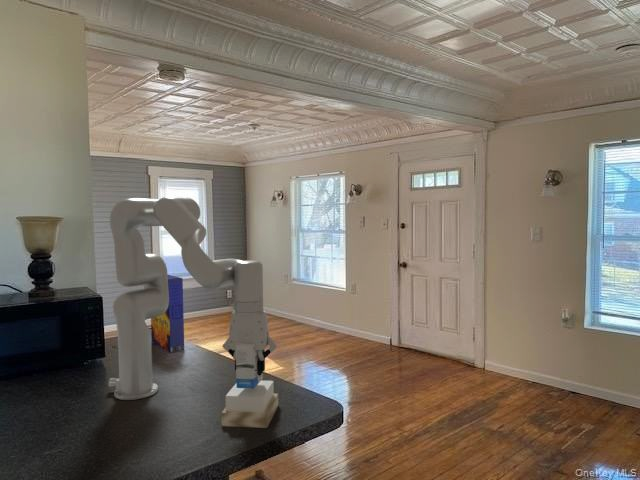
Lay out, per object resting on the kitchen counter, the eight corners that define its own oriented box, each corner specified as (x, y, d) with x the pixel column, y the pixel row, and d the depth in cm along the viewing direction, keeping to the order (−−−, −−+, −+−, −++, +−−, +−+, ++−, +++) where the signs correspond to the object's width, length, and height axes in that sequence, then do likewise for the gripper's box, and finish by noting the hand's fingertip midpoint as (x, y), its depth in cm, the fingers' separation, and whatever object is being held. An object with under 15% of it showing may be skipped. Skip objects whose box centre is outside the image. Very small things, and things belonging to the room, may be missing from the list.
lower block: (221, 427, 119) (221, 412, 118) (237, 405, 133) (237, 392, 132) (267, 429, 117) (266, 414, 117) (278, 407, 131) (278, 393, 131)
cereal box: (151, 342, 202) (149, 274, 200) (165, 339, 206) (163, 273, 204) (170, 353, 185) (168, 278, 183) (184, 350, 189) (182, 277, 187)
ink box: (253, 389, 120) (252, 345, 119) (235, 388, 121) (234, 344, 120) (263, 378, 128) (263, 336, 127) (247, 377, 129) (246, 335, 128)
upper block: (225, 411, 119) (225, 395, 119) (239, 393, 131) (239, 379, 131) (263, 412, 118) (263, 397, 118) (273, 394, 130) (273, 380, 130)
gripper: (213, 309, 121) (214, 377, 122) (277, 310, 119) (278, 379, 120) (222, 303, 128) (223, 368, 129) (283, 304, 126) (283, 369, 127)
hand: (250, 372), depth 124 cm, fingers closed on ink box, 5 cm apart
